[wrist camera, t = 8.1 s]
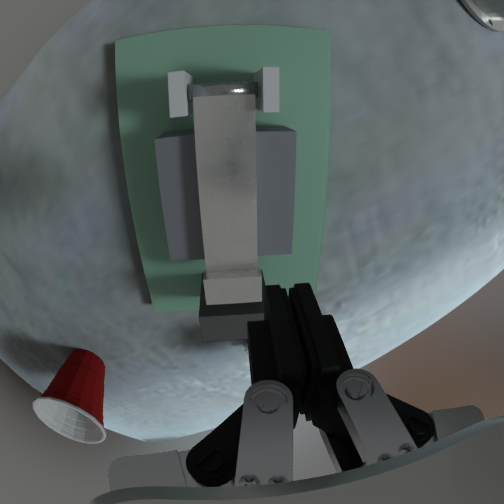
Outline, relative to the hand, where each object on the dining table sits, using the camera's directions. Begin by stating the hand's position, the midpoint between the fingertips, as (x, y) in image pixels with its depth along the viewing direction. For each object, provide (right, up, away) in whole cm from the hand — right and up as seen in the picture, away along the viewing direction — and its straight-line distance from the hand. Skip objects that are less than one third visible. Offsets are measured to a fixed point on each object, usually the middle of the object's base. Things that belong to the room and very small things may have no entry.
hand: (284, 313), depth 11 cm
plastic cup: (-26, -14, +26) cm, 39 cm away
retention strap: (-3, +6, +10) cm, 12 cm away
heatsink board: (-3, +9, +15) cm, 18 cm away
